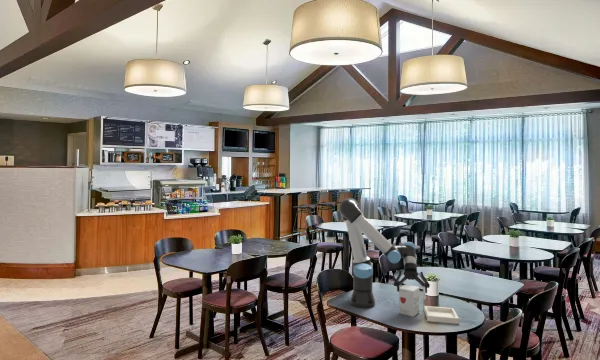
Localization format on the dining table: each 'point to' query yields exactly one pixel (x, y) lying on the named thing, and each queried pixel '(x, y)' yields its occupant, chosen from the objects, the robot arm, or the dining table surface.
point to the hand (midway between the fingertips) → (412, 297)
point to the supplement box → (409, 300)
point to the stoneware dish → (441, 314)
